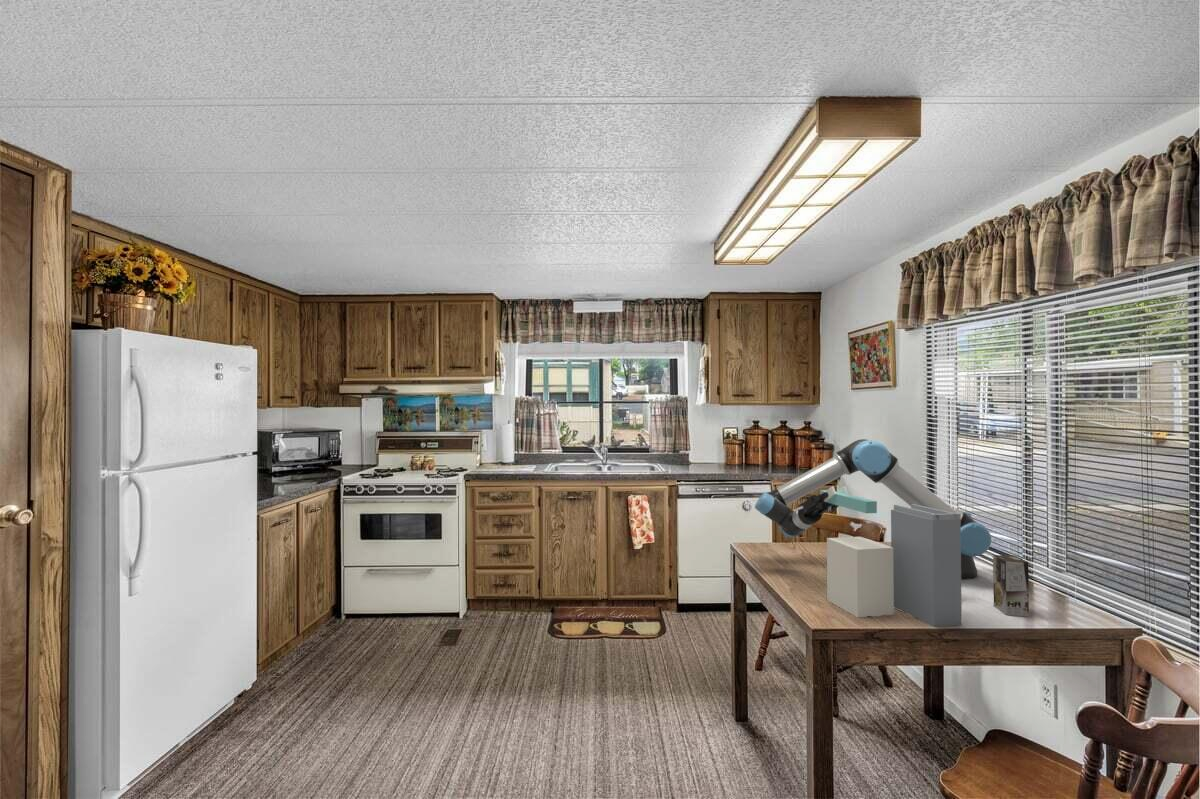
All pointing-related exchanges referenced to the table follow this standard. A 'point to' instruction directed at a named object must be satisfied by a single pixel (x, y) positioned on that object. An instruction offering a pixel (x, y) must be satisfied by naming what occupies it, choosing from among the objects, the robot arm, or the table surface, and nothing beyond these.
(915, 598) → the tall grey bin
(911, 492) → the robot arm
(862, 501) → the lid bar
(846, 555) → the beige tall block
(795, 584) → the table surface
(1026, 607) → the coffee box
